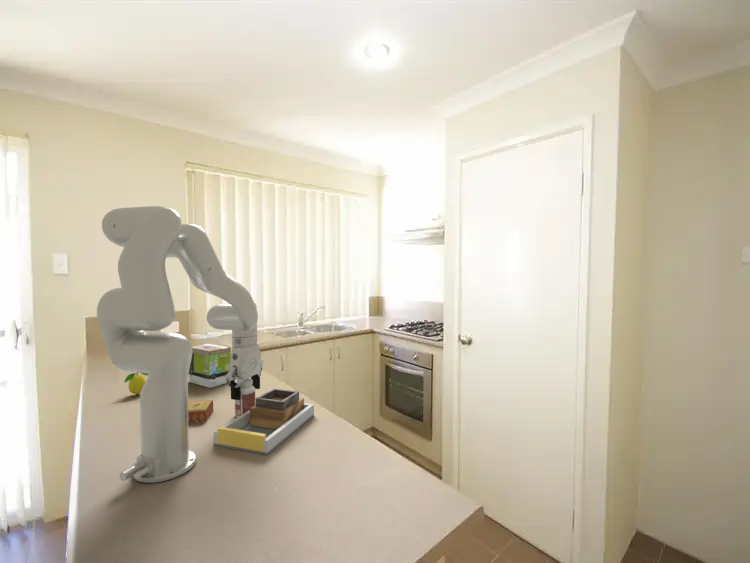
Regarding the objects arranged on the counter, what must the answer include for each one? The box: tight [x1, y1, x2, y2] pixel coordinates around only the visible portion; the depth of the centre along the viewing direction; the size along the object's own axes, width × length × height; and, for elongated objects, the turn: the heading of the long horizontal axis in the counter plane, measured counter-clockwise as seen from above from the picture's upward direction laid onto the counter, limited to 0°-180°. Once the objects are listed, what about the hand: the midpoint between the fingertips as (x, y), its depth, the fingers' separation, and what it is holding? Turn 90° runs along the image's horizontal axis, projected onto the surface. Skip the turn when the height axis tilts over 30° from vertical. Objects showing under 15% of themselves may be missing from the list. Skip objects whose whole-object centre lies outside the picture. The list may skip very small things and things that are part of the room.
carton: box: [188, 399, 214, 423], centre depth 109 cm, size 8×16×4 cm, turn 101°
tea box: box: [188, 343, 232, 389], centre depth 144 cm, size 15×10×15 cm
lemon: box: [123, 372, 148, 396], centre depth 129 cm, size 7×6×10 cm
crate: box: [250, 388, 305, 429], centre depth 107 cm, size 12×11×8 cm
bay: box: [213, 402, 315, 456], centre depth 102 cm, size 25×16×5 cm, turn 163°
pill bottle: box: [234, 377, 256, 418], centre depth 112 cm, size 6×6×11 cm
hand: (246, 393), depth 113 cm, fingers open, 9 cm apart
